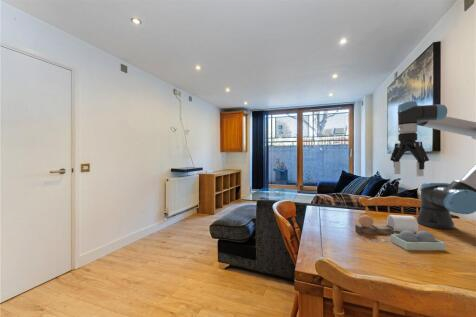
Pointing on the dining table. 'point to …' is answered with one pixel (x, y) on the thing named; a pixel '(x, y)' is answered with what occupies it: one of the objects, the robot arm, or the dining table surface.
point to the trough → (417, 244)
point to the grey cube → (408, 236)
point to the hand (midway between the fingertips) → (408, 175)
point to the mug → (402, 223)
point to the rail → (374, 229)
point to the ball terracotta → (366, 221)
